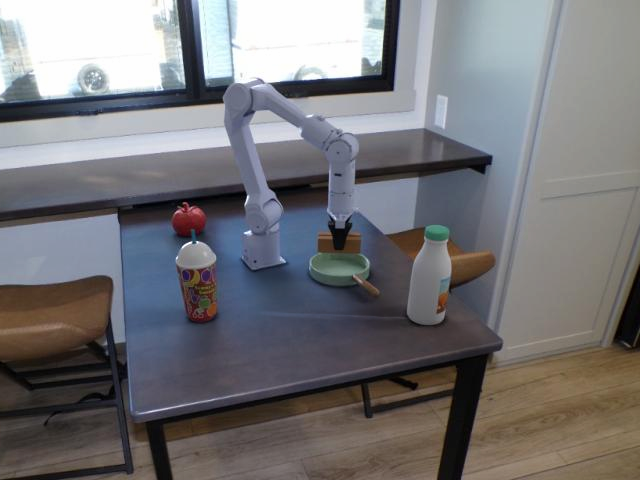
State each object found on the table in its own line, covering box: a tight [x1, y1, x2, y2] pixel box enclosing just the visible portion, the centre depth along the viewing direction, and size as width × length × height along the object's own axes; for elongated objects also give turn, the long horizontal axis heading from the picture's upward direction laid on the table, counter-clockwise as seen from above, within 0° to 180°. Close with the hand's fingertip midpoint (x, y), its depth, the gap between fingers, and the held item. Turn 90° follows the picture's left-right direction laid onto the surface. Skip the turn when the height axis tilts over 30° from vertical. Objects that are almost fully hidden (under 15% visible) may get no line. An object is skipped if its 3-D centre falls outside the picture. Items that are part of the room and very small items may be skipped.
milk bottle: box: [406, 224, 452, 326], centre depth 105 cm, size 8×8×20 cm
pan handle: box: [352, 274, 381, 299], centre depth 118 cm, size 10×2×2 cm, turn 23°
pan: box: [308, 252, 371, 287], centre depth 128 cm, size 15×15×3 cm
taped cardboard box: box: [317, 231, 362, 254], centre depth 124 cm, size 10×5×4 cm, turn 83°
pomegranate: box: [171, 202, 207, 237], centre depth 152 cm, size 10×10×9 cm
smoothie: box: [174, 229, 218, 323], centre depth 108 cm, size 8×8×20 cm
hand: (339, 245), depth 124 cm, fingers closed on taped cardboard box, 4 cm apart
